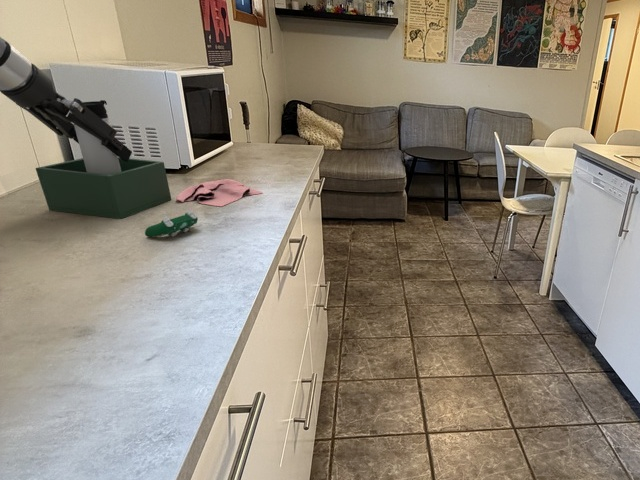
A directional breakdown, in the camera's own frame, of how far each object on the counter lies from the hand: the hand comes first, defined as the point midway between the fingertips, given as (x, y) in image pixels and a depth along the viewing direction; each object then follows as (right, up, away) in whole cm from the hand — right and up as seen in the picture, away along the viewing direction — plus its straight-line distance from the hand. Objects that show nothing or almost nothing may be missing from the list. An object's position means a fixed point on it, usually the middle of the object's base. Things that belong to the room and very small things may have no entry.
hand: (115, 154), depth 106 cm
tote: (-2, -11, +2) cm, 11 cm away
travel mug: (-1, -9, +1) cm, 9 cm away
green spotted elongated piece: (+20, -19, -11) cm, 30 cm away
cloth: (+16, -6, +14) cm, 22 cm away
